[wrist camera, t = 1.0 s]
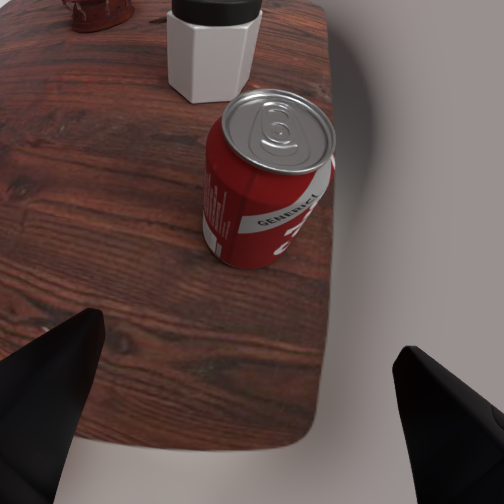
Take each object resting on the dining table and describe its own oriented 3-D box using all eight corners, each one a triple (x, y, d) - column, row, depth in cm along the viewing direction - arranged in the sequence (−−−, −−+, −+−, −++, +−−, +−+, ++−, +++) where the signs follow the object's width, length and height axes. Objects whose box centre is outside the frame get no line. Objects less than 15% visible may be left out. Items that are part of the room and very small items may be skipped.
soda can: (200, 270, 23) (200, 177, 12) (205, 191, 26) (214, 75, 14) (289, 274, 24) (359, 193, 13) (285, 197, 26) (336, 92, 15)
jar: (241, 60, 33) (257, -24, 22) (255, 102, 30) (279, 5, 19) (167, 64, 31) (167, -23, 20) (169, 107, 28) (166, 4, 17)
